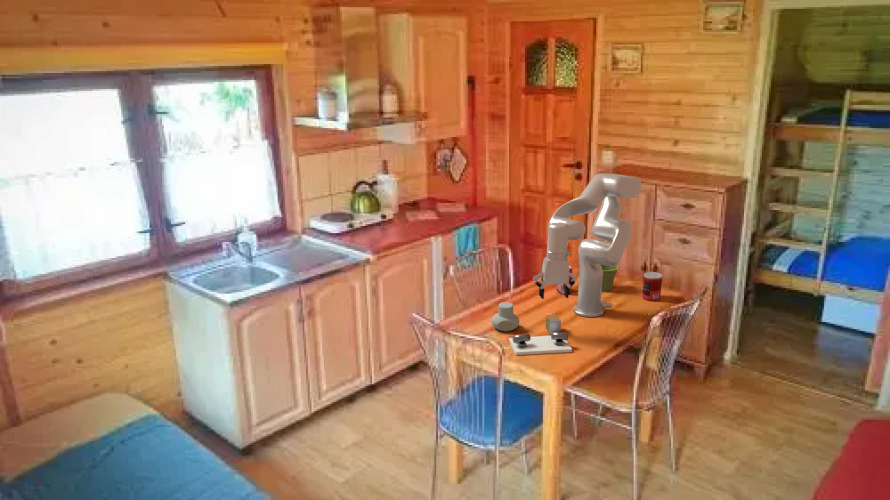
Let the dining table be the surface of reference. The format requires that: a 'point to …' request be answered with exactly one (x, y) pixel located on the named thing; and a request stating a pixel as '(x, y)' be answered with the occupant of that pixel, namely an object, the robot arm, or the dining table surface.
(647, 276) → the canned food
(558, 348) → the board
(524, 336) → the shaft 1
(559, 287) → the soda can
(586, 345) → the dining table surface
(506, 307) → the air freshener
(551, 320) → the tan box
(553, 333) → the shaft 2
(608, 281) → the plant pot
